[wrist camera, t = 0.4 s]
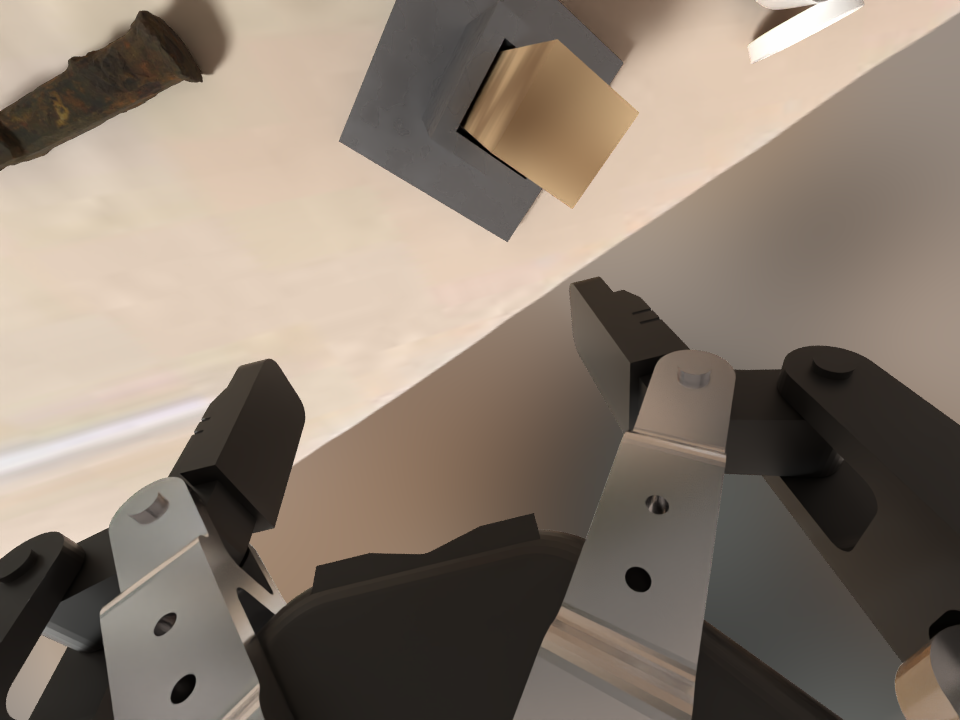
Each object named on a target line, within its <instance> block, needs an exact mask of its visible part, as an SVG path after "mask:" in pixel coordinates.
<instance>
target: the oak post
mask: <svg viewBox="0 0 960 720" xmlns="http://www.w3.org/2000/svg"><path fill="white" fill-rule="evenodd" d="M638 114H639V112H638V111H637V110H635V109H634V108H633V107H632V106H631V105H630V104H629V103H628V102H627V101H625V100H624V99H623V98H622V97H621V96H620V95H619V94H618V93H617V92H616V91H614V90H613V89H612V88H611V87H610V86H609V85H608V84H607V83H606V82H604V81H603V80H602V79H601V78H600V77H599V76H598V75H597V74H596V73H594V72H593V71H592V70H591V69H590V68H589V67H588V66H587V65H586V64H584V63H583V62H582V61H581V60H580V59H579V58H578V57H577V56H576V55H574V54H573V53H572V52H571V51H570V50H569V49H568V48H567V47H566V46H565V45H563V44H562V43H561V42H560V41H559V40H558V39H556V40H552V41H547V42H542V43H538V44H533V45H528V46H524V47H519V48H514V49H510V50H505V51H501V52H497V54H496V56H495V58H494V60H493V62H492V63H491V65H490V67H489V69H488V71H487V73H486V75H485V77H484V79H483V81H482V83H481V85H480V86H479V88H478V90H477V92H476V94H475V96H474V98H473V100H472V102H471V104H470V106H469V108H468V109H467V111H466V113H465V115H464V117H463V119H462V121H461V123H460V125H461V126H462V127H463V128H464V129H465V130H467V131H468V132H469V133H470V134H471V135H472V136H473V137H474V138H476V139H477V140H478V141H479V142H480V143H481V144H482V145H483V146H484V147H486V148H487V149H488V150H489V151H490V152H491V153H492V154H494V155H495V156H497V157H498V158H500V159H501V160H502V161H504V162H505V163H507V164H508V165H510V166H511V167H513V168H514V169H515V170H517V171H518V172H520V173H521V174H523V175H524V176H525V177H527V178H528V179H530V180H531V181H533V182H534V183H536V184H537V185H538V186H540V187H541V188H543V189H544V190H546V191H547V192H549V193H550V194H551V195H553V196H554V197H556V198H557V199H559V200H560V201H561V202H563V203H564V204H566V205H567V206H569V207H570V208H572V209H573V207H574V206H575V205H576V203H577V202H578V200H579V199H580V197H581V196H582V194H583V193H584V192H585V190H586V189H587V187H588V186H589V184H590V183H591V182H592V180H593V179H594V177H595V176H596V174H597V173H598V171H599V170H600V169H601V167H602V166H603V164H604V163H605V161H606V160H607V159H608V157H609V156H610V154H611V153H612V151H613V150H614V149H615V147H616V146H617V144H618V143H619V141H620V140H621V138H622V137H623V136H624V134H625V133H626V131H627V130H628V128H629V127H630V126H631V124H632V123H633V121H634V120H635V118H636V117H637V115H638Z"/></svg>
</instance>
